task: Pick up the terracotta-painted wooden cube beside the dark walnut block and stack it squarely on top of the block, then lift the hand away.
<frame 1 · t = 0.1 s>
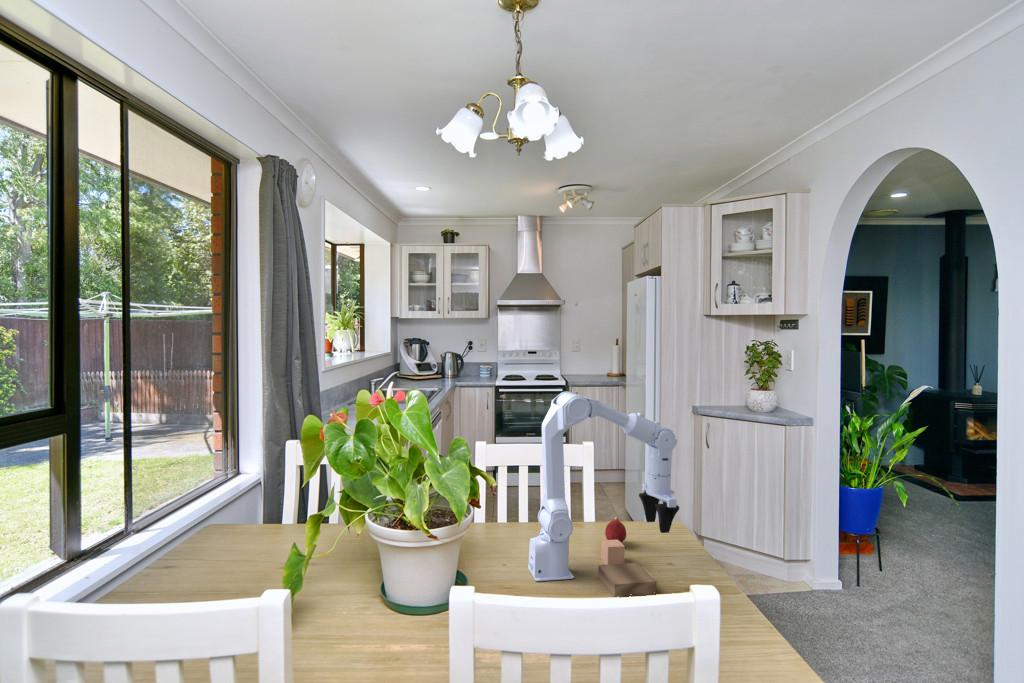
hand: (657, 526, 139), 10 cm above the table, tool pointing down, fingers open, 7 cm apart
onion: (615, 546, 151), on the table
walnut base: (626, 585, 127), on the table
terracotta cube: (612, 562, 140), on the table
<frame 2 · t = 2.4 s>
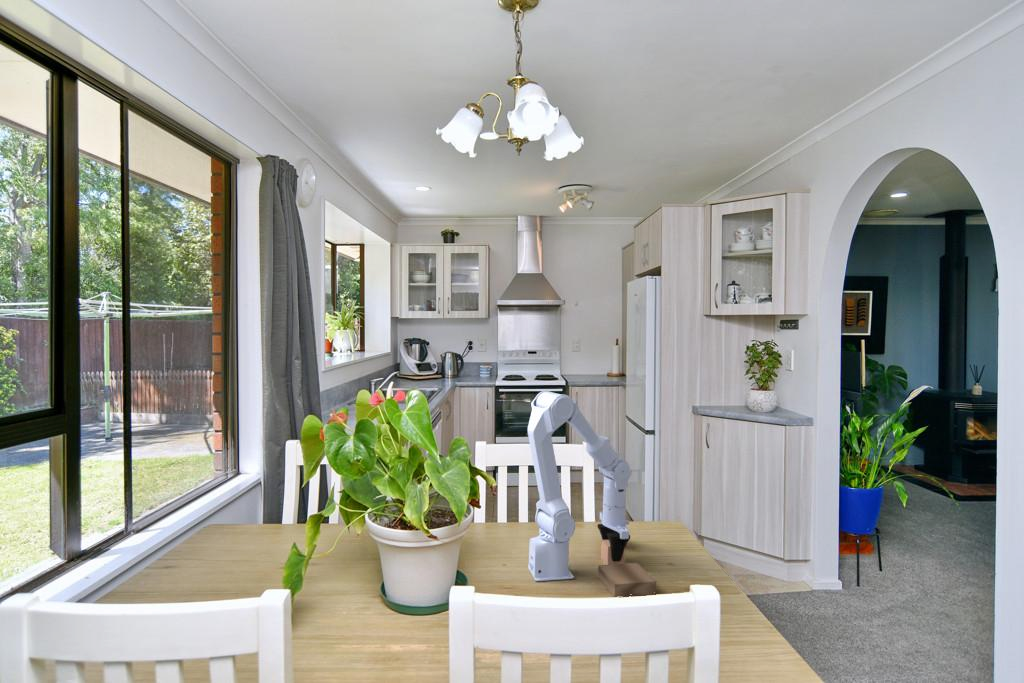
hand: (612, 556, 140), 1 cm above the table, tool pointing down, fingers closed on terracotta cube, 4 cm apart
terracotta cube: (612, 562, 140), on the table, touching gripper
everything else where it was.
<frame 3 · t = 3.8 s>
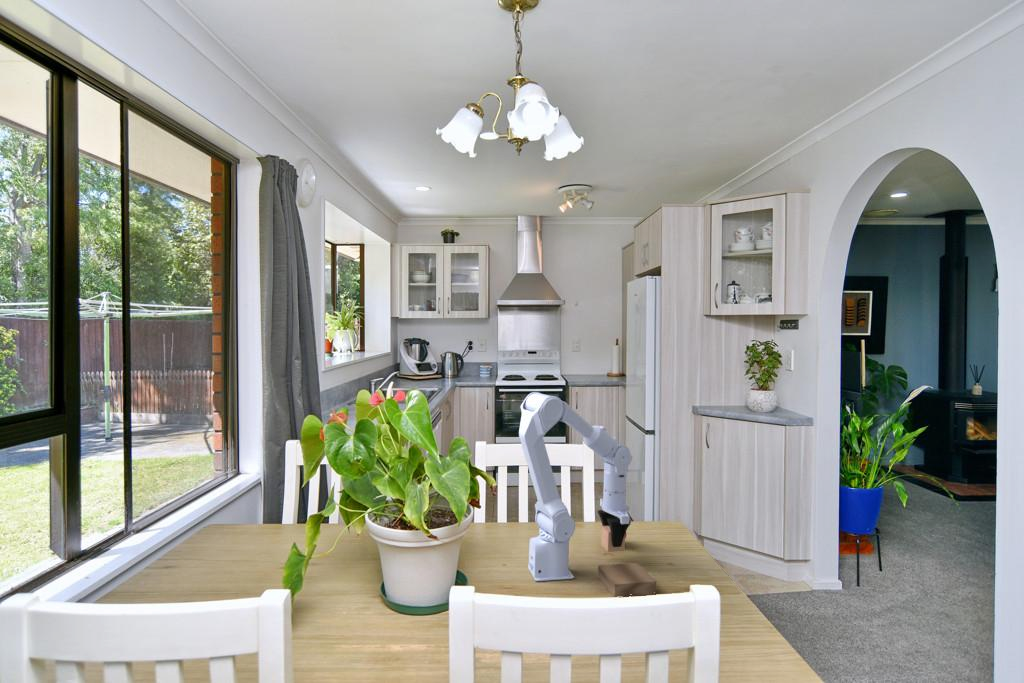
hand: (612, 542, 140), 5 cm above the table, tool pointing down, fingers closed on terracotta cube, 4 cm apart
terracotta cube: (612, 548, 140), point 4 cm above the table, touching gripper
everything else where it was.
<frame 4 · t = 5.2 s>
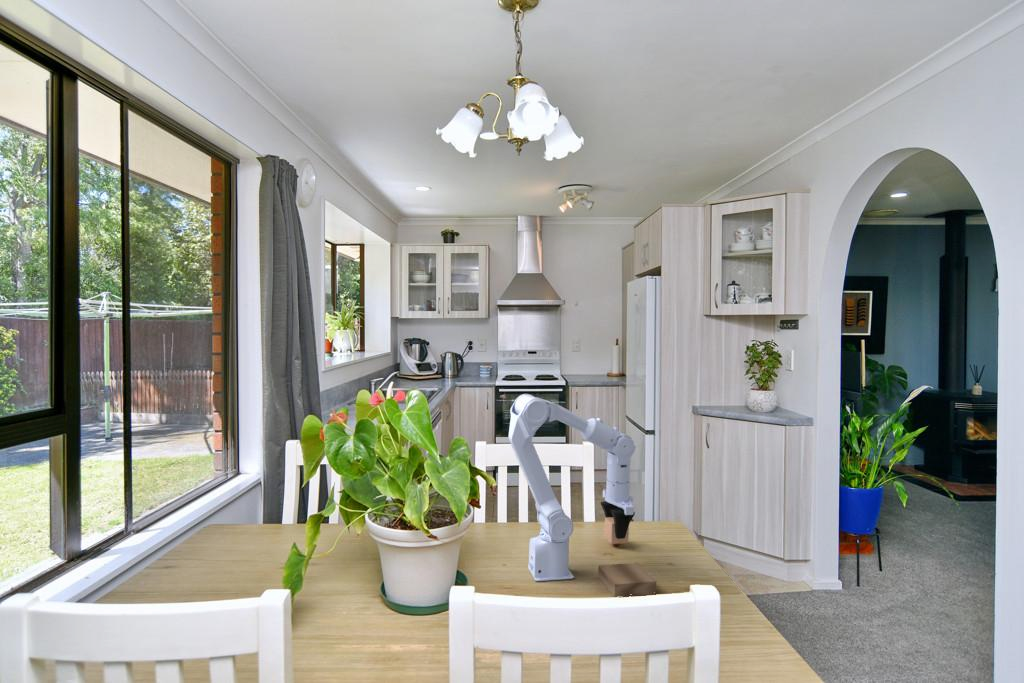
hand: (616, 534, 137), 8 cm above the table, tool pointing down, fingers closed on terracotta cube, 4 cm apart
terracotta cube: (616, 539, 137), point 7 cm above the table, touching gripper
everything else where it was.
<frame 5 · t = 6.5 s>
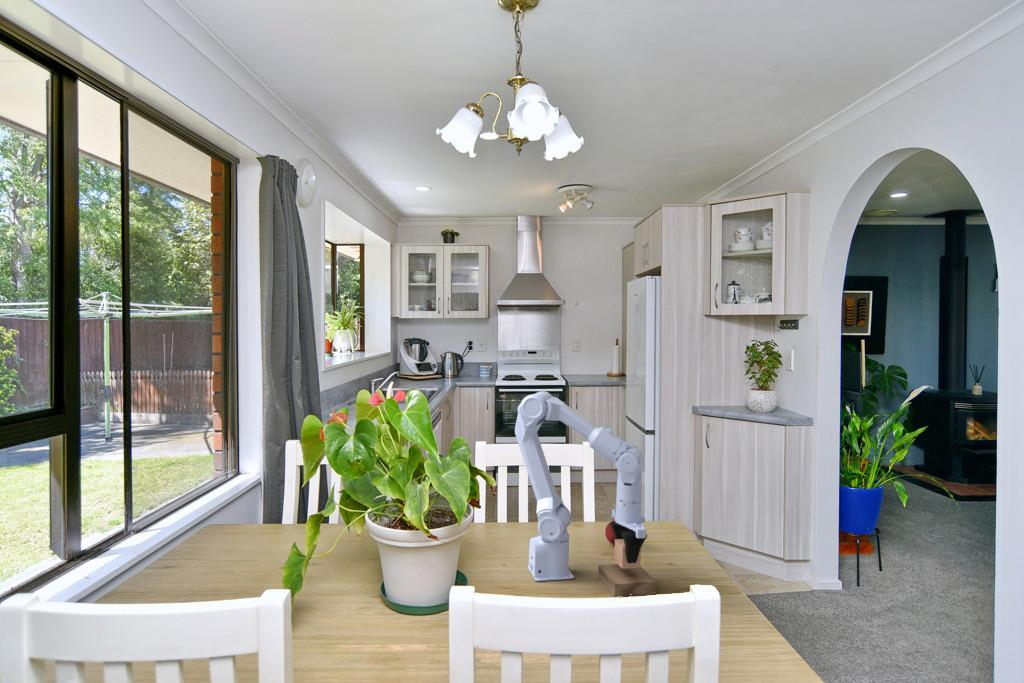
hand: (627, 557, 127), 7 cm above the table, tool pointing down, fingers closed on terracotta cube, 4 cm apart
terracotta cube: (627, 563, 127), point 5 cm above the table, touching gripper
everything else where it was.
when the fingers open (6 cm above the table, at t = 7.8 s): terracotta cube drops 1 cm, resting on walnut base.
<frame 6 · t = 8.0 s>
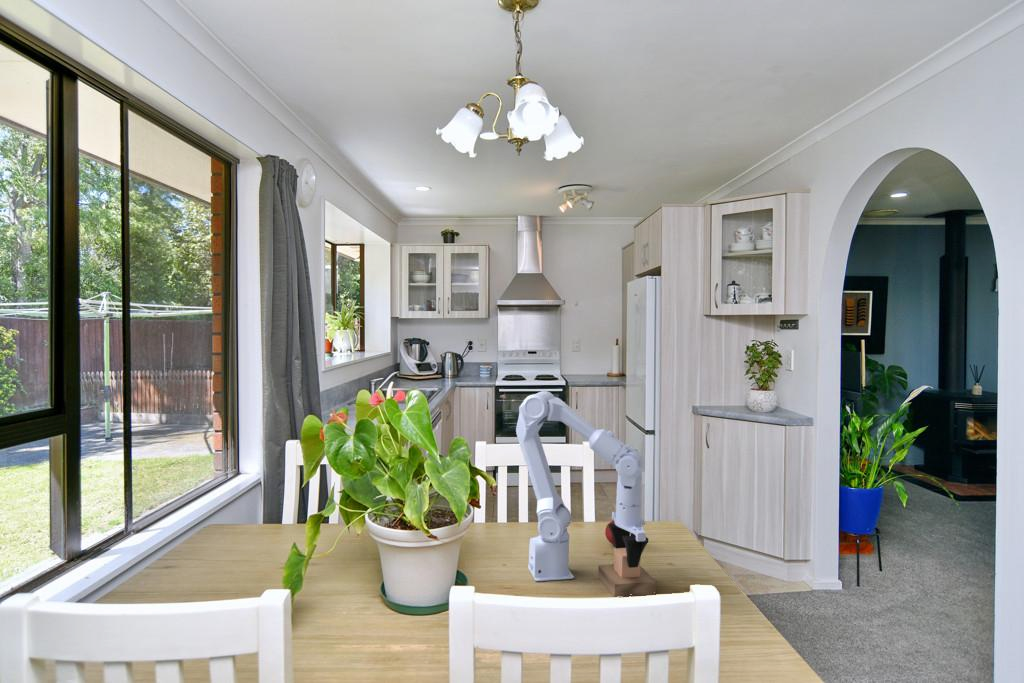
hand: (626, 560, 127), 6 cm above the table, tool pointing down, fingers open, 6 cm apart
terracotta cube: (626, 573, 127), point 3 cm above the table, touching walnut base
everything else where it was.
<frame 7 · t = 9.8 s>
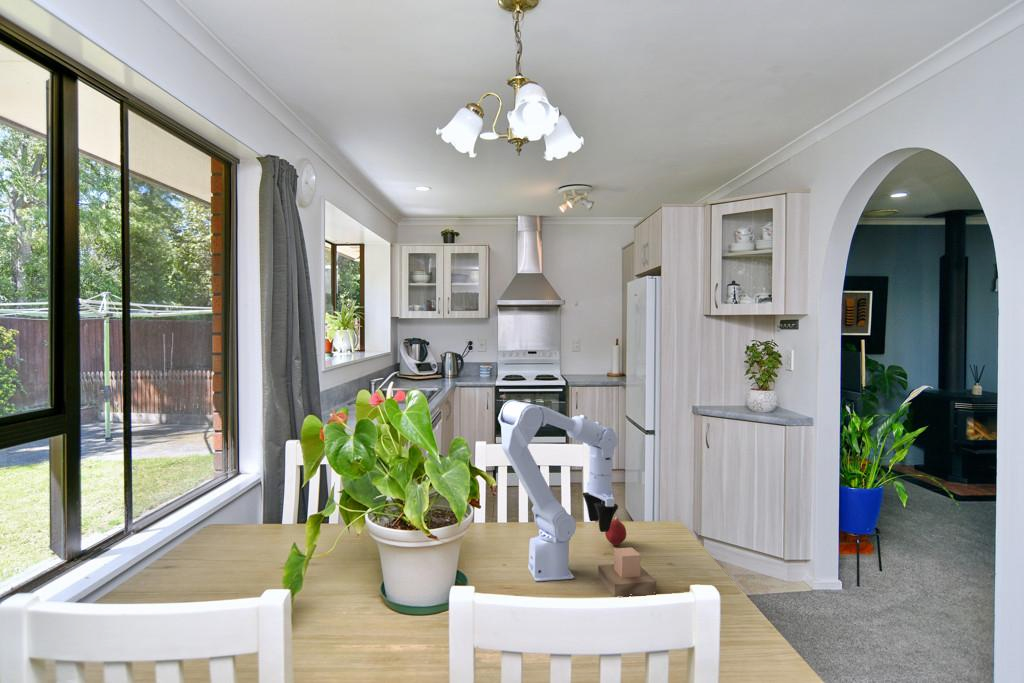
hand: (598, 525, 140), 9 cm above the table, tool pointing down, fingers open, 7 cm apart
nothing on the table moved.
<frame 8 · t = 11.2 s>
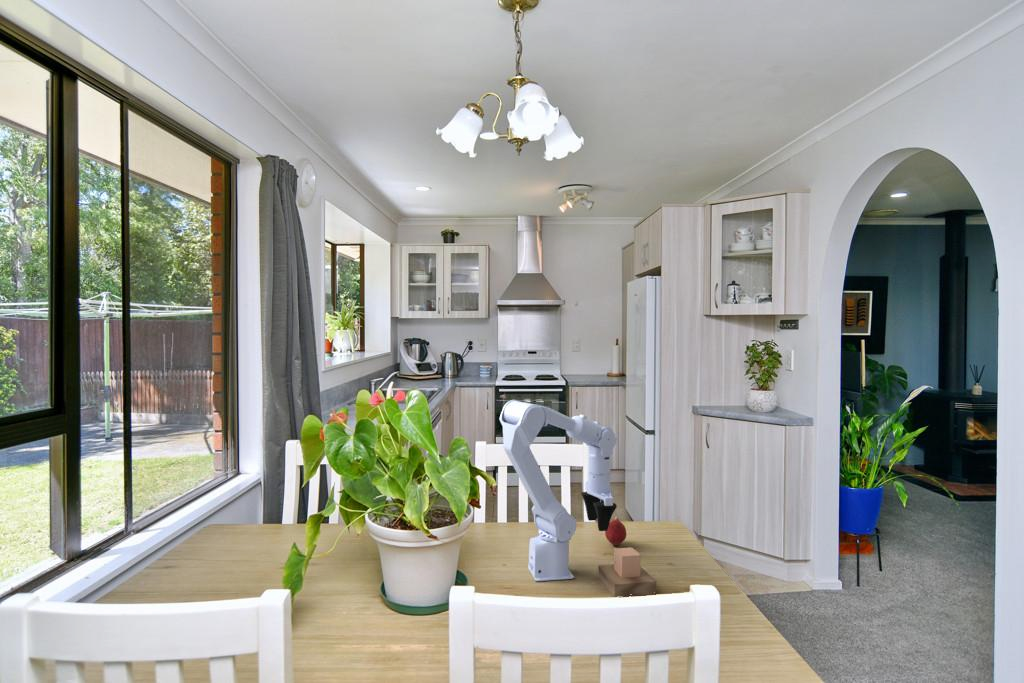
hand: (597, 525, 140), 9 cm above the table, tool pointing down, fingers open, 7 cm apart
nothing on the table moved.
at the end: terracotta cube 0.1 cm off-centre on the walnut base, point 3.0 cm above the walnut base's base; terracotta cube tilted 0°; the gripper is holding nothing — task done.
